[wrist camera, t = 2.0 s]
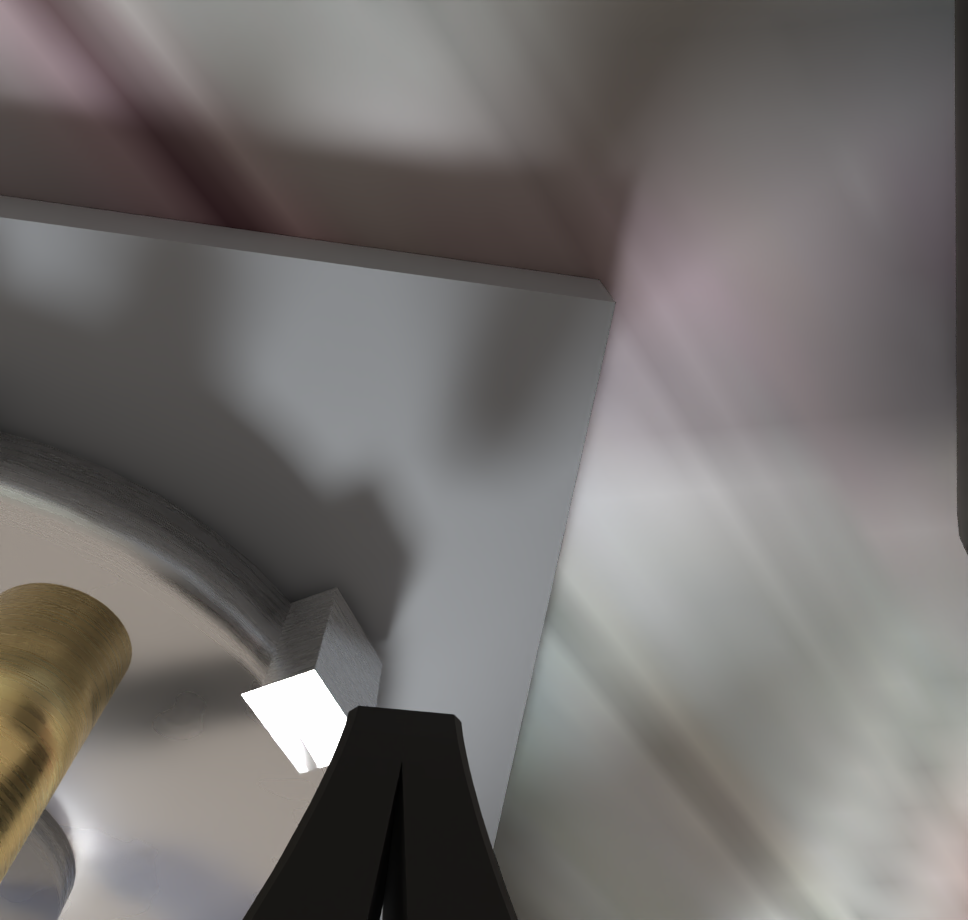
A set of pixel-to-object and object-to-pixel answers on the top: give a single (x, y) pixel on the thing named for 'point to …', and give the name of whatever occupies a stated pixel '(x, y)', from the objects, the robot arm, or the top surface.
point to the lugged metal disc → (152, 701)
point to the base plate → (327, 426)
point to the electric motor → (962, 261)
